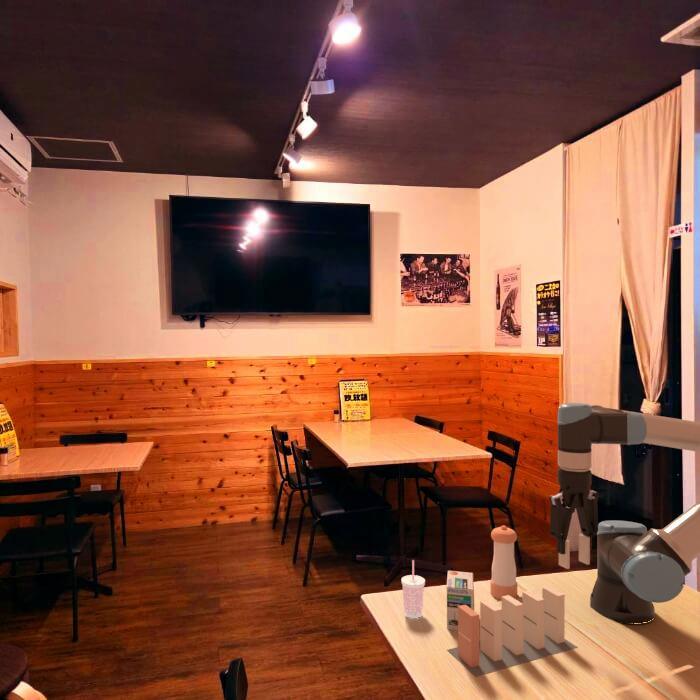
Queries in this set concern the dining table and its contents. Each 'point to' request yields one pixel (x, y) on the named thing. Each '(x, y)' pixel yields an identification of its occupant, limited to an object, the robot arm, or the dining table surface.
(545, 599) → the domino
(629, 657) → the dining table surface
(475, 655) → the domino
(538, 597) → the domino
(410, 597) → the beverage cup
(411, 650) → the dining table surface
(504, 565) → the salt shaker
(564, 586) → the dining table surface
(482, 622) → the domino
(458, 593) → the light bulb box
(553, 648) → the slate mat
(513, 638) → the loose domino
